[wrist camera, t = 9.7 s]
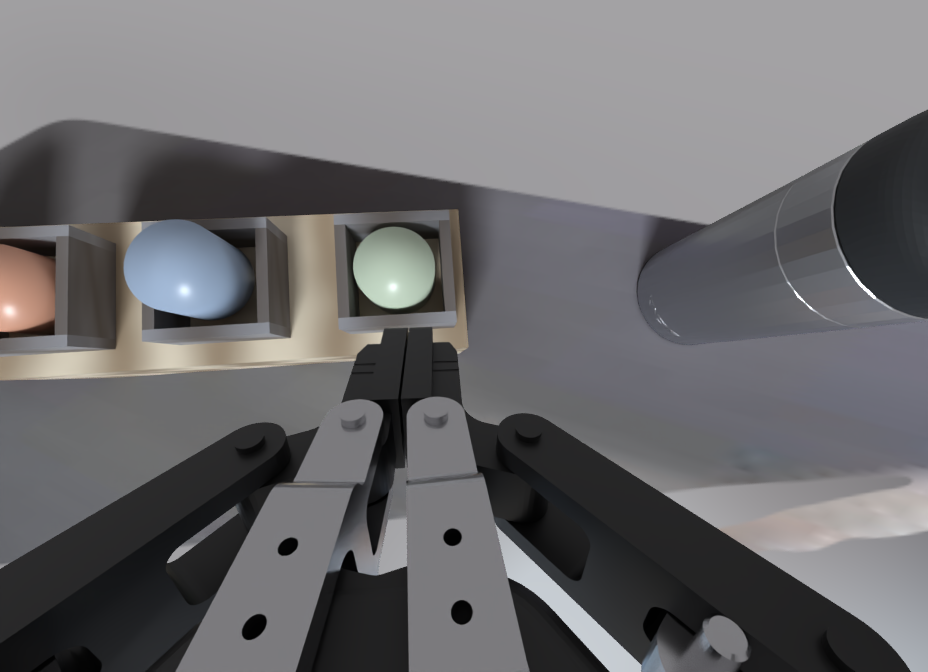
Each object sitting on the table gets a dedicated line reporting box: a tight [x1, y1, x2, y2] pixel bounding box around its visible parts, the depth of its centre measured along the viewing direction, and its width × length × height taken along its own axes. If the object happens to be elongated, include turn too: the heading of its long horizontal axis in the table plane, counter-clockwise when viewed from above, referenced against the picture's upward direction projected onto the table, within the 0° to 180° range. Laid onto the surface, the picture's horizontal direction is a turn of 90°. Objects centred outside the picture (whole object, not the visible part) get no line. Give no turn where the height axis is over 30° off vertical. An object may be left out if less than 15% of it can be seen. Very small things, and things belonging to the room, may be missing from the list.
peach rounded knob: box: [0, 244, 56, 336], centre depth 21 cm, size 4×4×3 cm
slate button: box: [124, 219, 255, 320], centre depth 20 cm, size 4×4×3 cm
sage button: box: [353, 227, 435, 314], centre depth 22 cm, size 4×4×3 cm
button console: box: [0, 209, 468, 380], centre depth 26 cm, size 28×9×12 cm, turn 94°
